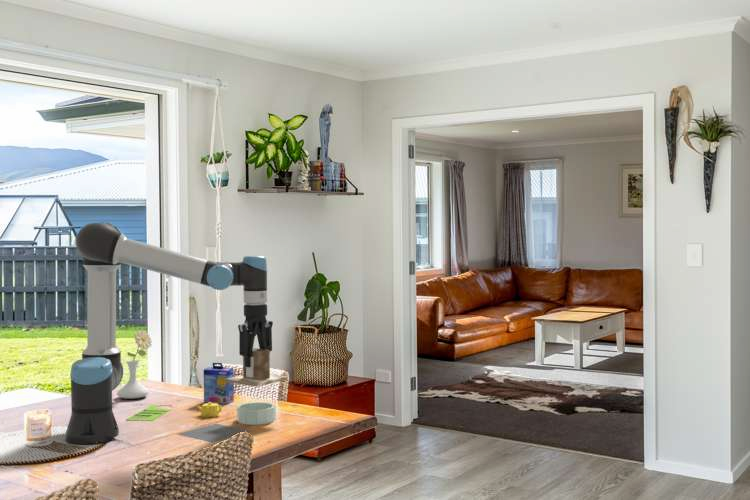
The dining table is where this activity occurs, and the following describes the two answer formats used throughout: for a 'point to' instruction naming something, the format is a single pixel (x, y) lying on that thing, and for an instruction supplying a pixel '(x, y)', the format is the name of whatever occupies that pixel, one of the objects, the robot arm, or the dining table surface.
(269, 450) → the dining table surface
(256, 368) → the lid
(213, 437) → the mat
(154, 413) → the door hanger
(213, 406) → the teapot
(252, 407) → the bowl
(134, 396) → the flower in vase
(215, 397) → the ink cartridge box
